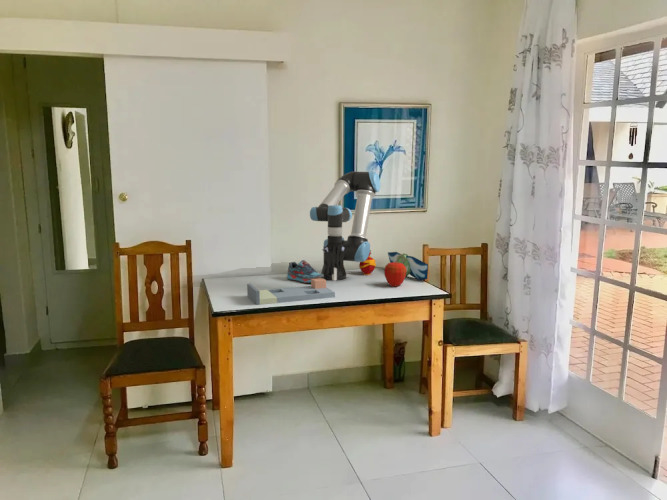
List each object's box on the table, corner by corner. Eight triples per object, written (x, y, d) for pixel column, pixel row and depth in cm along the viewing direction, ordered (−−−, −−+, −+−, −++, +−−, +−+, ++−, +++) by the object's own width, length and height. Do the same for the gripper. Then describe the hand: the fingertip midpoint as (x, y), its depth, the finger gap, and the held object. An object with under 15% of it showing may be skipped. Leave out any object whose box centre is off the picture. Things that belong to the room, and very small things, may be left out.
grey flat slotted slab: (321, 289, 283) (321, 277, 282) (334, 297, 266) (335, 284, 265) (247, 296, 267) (247, 283, 266) (256, 304, 251) (256, 291, 250)
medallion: (382, 270, 335) (382, 248, 333) (389, 269, 337) (389, 248, 335) (422, 284, 295) (422, 260, 293) (429, 284, 297) (430, 259, 295)
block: (321, 285, 281) (321, 278, 280) (326, 287, 275) (326, 280, 274) (311, 286, 278) (311, 278, 278) (315, 288, 273) (315, 281, 272)
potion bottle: (361, 277, 314) (361, 252, 311) (357, 273, 324) (357, 249, 321) (378, 276, 316) (378, 251, 313) (373, 273, 326) (374, 249, 323)
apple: (405, 289, 284) (406, 263, 282) (382, 288, 286) (383, 262, 284) (406, 284, 296) (407, 259, 294) (385, 283, 298) (385, 258, 296)
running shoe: (317, 286, 291) (317, 264, 289) (281, 280, 305) (281, 259, 303) (327, 283, 299) (327, 261, 297) (292, 277, 313) (292, 257, 311)
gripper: (343, 234, 282) (342, 277, 285) (320, 234, 277) (320, 279, 280) (349, 235, 275) (348, 280, 278) (325, 236, 270) (325, 282, 273)
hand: (334, 279), depth 279 cm, fingers closed
